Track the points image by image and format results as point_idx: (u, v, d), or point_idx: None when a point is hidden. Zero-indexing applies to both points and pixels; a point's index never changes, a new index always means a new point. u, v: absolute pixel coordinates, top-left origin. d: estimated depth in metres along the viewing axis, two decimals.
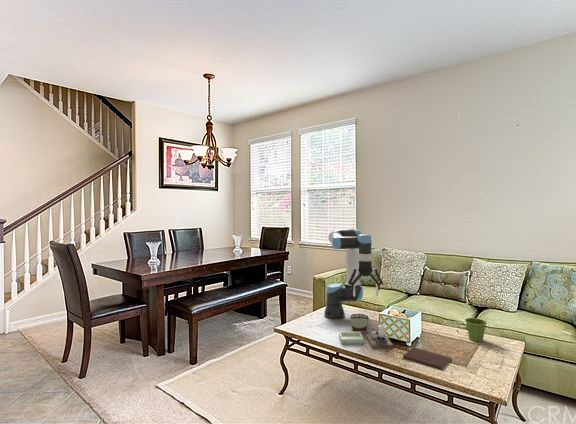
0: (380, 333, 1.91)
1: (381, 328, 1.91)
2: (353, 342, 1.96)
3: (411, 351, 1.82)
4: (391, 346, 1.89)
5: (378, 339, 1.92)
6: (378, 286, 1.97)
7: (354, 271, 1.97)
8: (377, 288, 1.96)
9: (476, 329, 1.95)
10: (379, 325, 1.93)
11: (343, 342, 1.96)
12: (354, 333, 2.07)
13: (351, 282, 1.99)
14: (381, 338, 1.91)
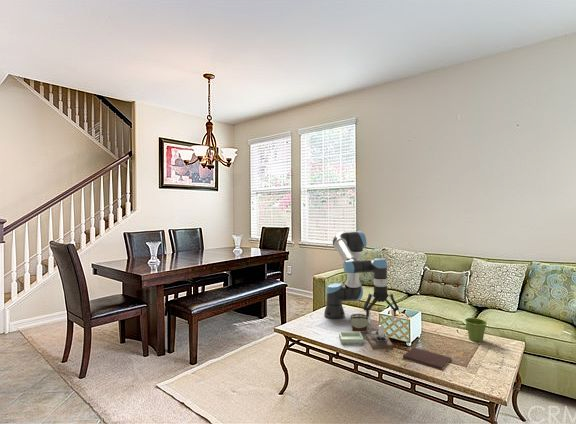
0: (380, 333, 1.91)
1: (381, 328, 1.91)
2: (353, 342, 1.96)
3: (411, 351, 1.82)
4: (391, 346, 1.89)
5: (378, 339, 1.92)
6: (394, 312, 1.91)
7: (369, 297, 1.91)
8: (393, 314, 1.90)
9: (476, 329, 1.95)
10: (379, 325, 1.93)
11: (343, 342, 1.96)
12: (354, 333, 2.07)
13: None
14: (381, 338, 1.91)
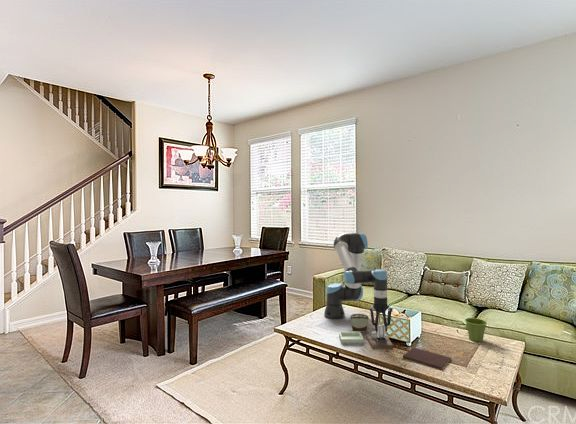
0: (380, 333, 1.91)
1: (381, 328, 1.91)
2: (353, 342, 1.96)
3: (411, 351, 1.82)
4: (391, 346, 1.89)
5: (378, 339, 1.92)
6: (385, 327, 1.91)
7: (371, 311, 1.91)
8: (384, 329, 1.91)
9: (476, 329, 1.95)
10: (379, 325, 1.93)
11: (343, 342, 1.96)
12: (354, 333, 2.07)
13: (375, 322, 1.93)
14: (381, 338, 1.91)
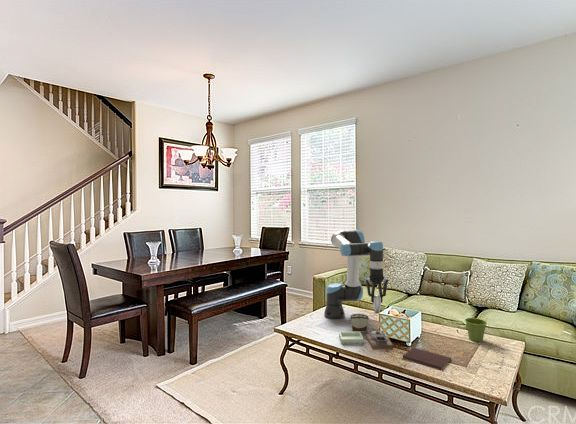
0: (376, 303, 1.92)
1: (377, 298, 1.92)
2: (353, 342, 1.96)
3: (411, 351, 1.82)
4: (391, 346, 1.89)
5: (374, 309, 1.93)
6: (381, 298, 1.92)
7: (367, 282, 1.92)
8: (380, 300, 1.92)
9: (476, 329, 1.95)
10: (375, 295, 1.94)
11: (343, 342, 1.96)
12: (354, 333, 2.07)
13: (371, 294, 1.94)
14: (377, 308, 1.92)
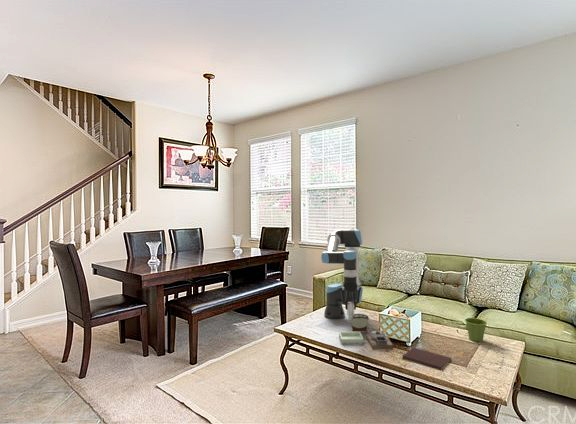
0: (349, 310, 2.00)
1: (350, 305, 2.00)
2: (353, 342, 1.96)
3: (411, 351, 1.82)
4: (391, 346, 1.89)
5: (348, 316, 2.01)
6: (354, 305, 2.00)
7: (341, 290, 2.00)
8: (353, 307, 2.00)
9: (476, 329, 1.95)
10: (349, 302, 2.02)
11: (343, 342, 1.96)
12: (354, 333, 2.07)
13: (345, 301, 2.02)
14: (350, 314, 2.00)
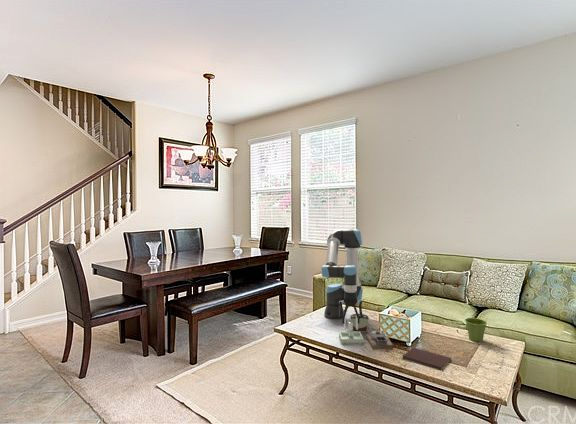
0: (349, 329, 2.00)
1: (350, 324, 2.00)
2: (353, 342, 1.96)
3: (411, 351, 1.82)
4: (391, 346, 1.89)
5: (348, 335, 2.02)
6: (358, 319, 2.01)
7: (340, 304, 2.00)
8: (357, 321, 2.00)
9: (476, 329, 1.95)
10: (348, 322, 2.02)
11: (343, 342, 1.96)
12: (354, 333, 2.07)
13: (342, 315, 2.02)
14: (350, 334, 2.00)
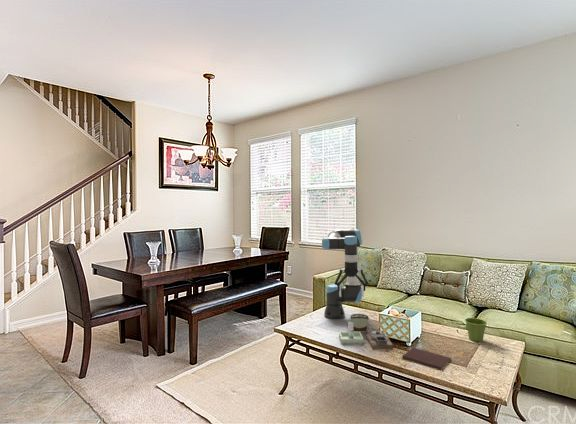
0: (350, 329, 2.00)
1: (351, 324, 2.00)
2: (353, 342, 1.96)
3: (411, 351, 1.82)
4: (391, 346, 1.89)
5: (348, 335, 2.02)
6: (364, 286, 2.00)
7: (340, 272, 2.00)
8: (363, 288, 2.00)
9: (476, 329, 1.95)
10: (349, 322, 2.02)
11: (343, 342, 1.96)
12: (354, 333, 2.07)
13: None
14: (351, 334, 2.00)
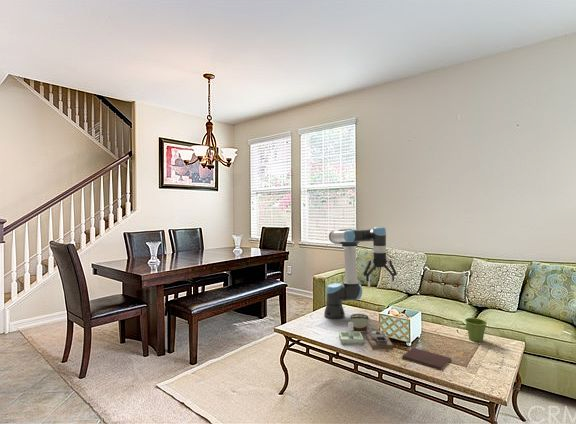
0: (350, 329, 2.00)
1: (351, 324, 2.00)
2: (353, 342, 1.96)
3: (411, 351, 1.82)
4: (391, 346, 1.89)
5: (348, 335, 2.02)
6: (392, 277, 2.04)
7: (369, 262, 2.03)
8: (391, 279, 2.03)
9: (476, 329, 1.95)
10: (349, 322, 2.02)
11: (343, 342, 1.96)
12: (354, 333, 2.07)
13: None
14: (351, 334, 2.00)
